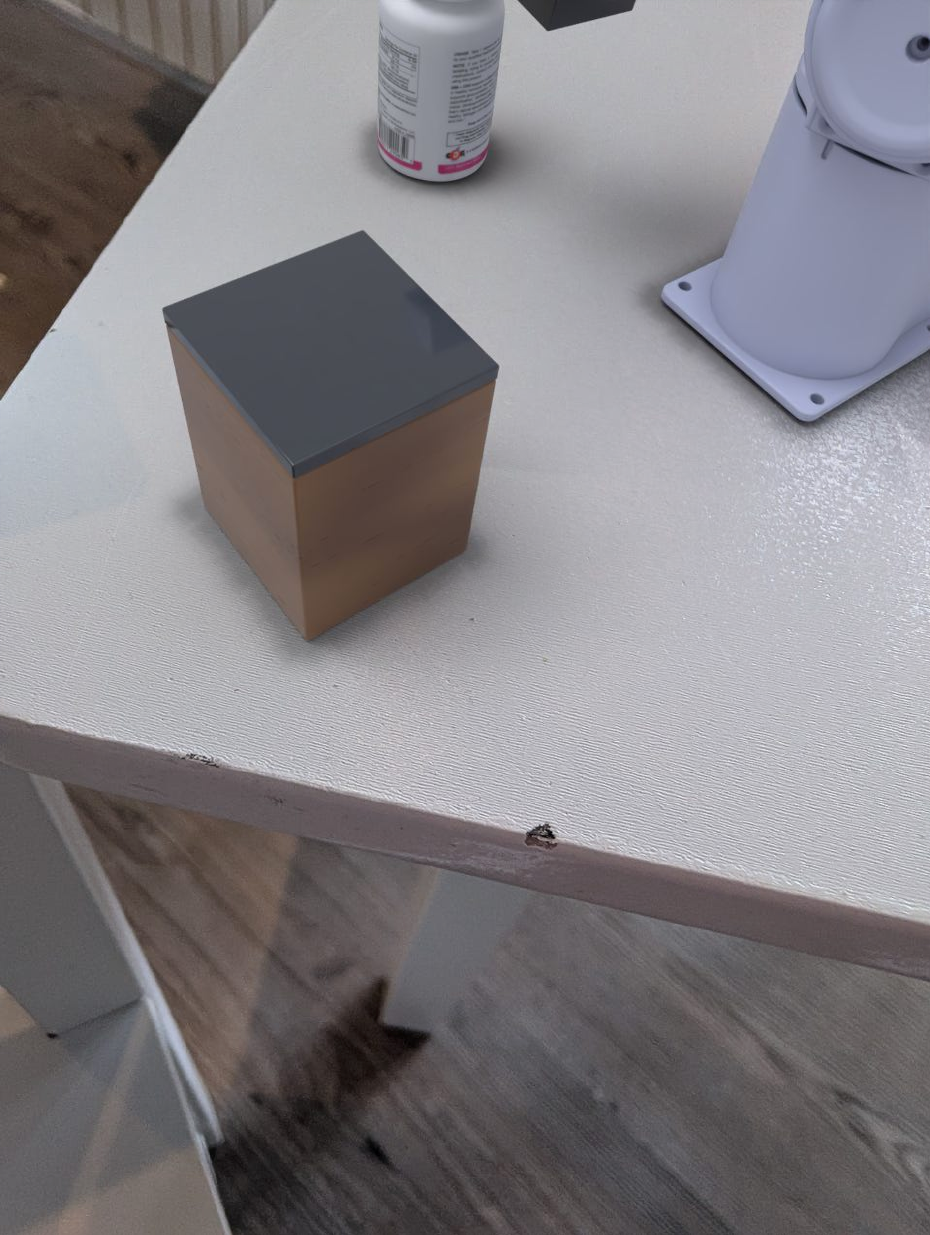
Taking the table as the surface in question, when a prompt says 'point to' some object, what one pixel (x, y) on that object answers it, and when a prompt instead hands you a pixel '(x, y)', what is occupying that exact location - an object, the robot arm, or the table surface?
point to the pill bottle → (437, 84)
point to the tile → (329, 350)
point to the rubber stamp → (573, 11)
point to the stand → (337, 501)
